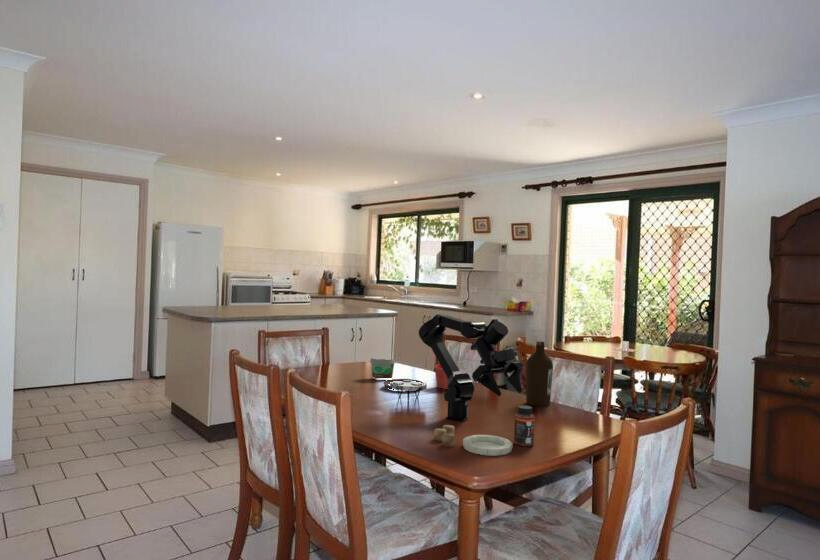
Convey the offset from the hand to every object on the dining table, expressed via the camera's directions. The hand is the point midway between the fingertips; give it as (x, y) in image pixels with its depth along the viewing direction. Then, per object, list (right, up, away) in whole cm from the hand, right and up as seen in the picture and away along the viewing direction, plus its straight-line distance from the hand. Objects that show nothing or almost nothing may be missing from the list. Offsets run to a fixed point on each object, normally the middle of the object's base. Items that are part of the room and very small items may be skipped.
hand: (510, 393), depth 173 cm
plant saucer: (-35, -12, +67) cm, 77 cm away
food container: (-46, -12, +86) cm, 98 cm away
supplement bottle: (+3, -14, -7) cm, 16 cm away
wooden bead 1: (-23, -13, -6) cm, 27 cm away
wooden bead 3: (-20, -13, -11) cm, 27 cm away
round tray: (-9, -13, -12) cm, 20 cm away
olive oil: (+20, -14, +48) cm, 54 cm away
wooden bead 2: (-20, -13, -2) cm, 24 cm away
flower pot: (-15, -13, +72) cm, 75 cm away
